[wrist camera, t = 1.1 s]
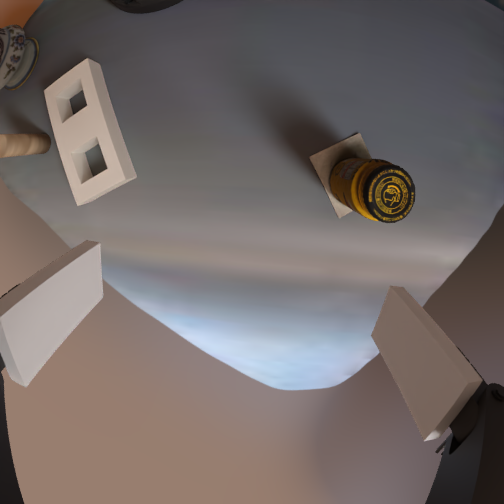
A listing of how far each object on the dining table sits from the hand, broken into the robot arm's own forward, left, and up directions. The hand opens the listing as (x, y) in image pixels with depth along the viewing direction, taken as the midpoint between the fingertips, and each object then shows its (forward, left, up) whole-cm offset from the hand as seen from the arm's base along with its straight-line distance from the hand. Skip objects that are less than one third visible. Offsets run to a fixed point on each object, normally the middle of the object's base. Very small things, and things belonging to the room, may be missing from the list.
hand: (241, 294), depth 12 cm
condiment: (0, +13, -24) cm, 27 cm away
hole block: (-18, -16, -24) cm, 34 cm away
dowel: (-21, -25, -24) cm, 41 cm away
